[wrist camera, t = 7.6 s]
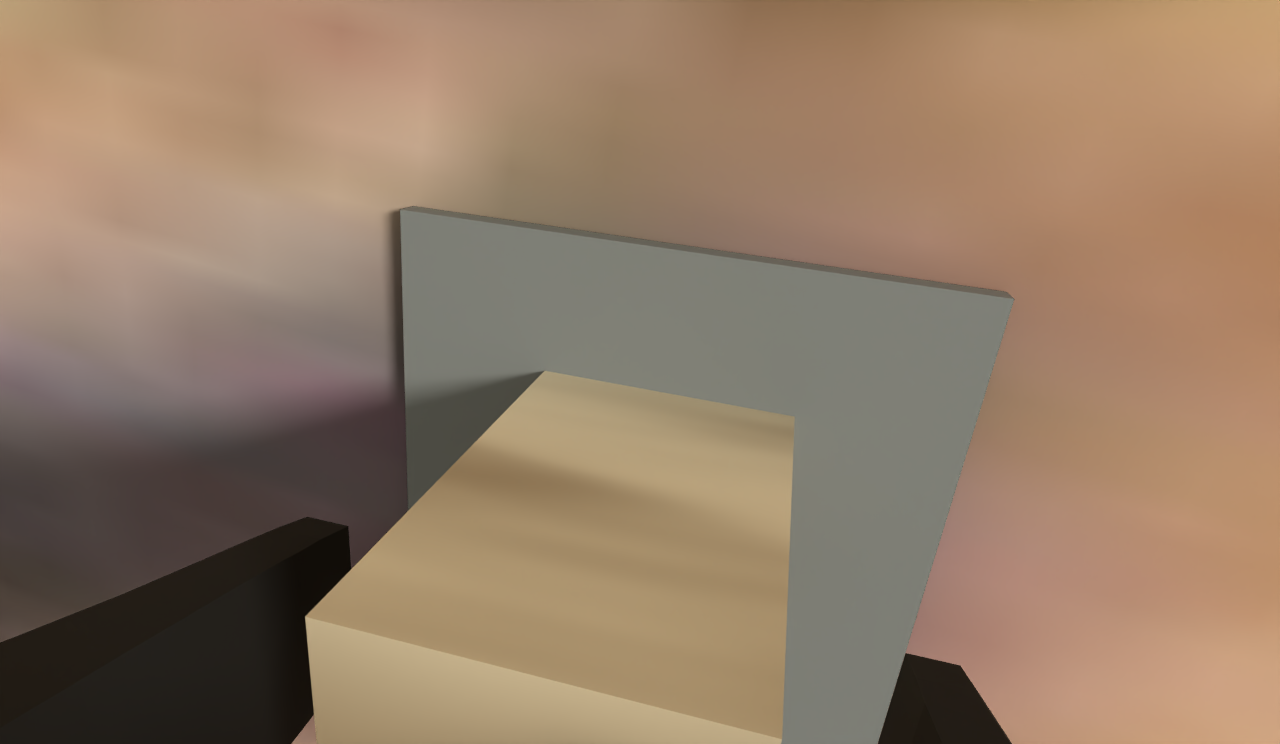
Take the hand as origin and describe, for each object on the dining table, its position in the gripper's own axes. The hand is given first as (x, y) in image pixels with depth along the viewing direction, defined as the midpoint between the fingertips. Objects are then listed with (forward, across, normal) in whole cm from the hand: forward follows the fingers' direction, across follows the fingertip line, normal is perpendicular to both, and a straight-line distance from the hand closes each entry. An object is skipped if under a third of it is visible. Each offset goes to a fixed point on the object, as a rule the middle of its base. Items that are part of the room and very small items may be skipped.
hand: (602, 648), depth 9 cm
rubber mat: (+4, 0, 0) cm, 4 cm away
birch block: (+3, 0, 0) cm, 3 cm away
